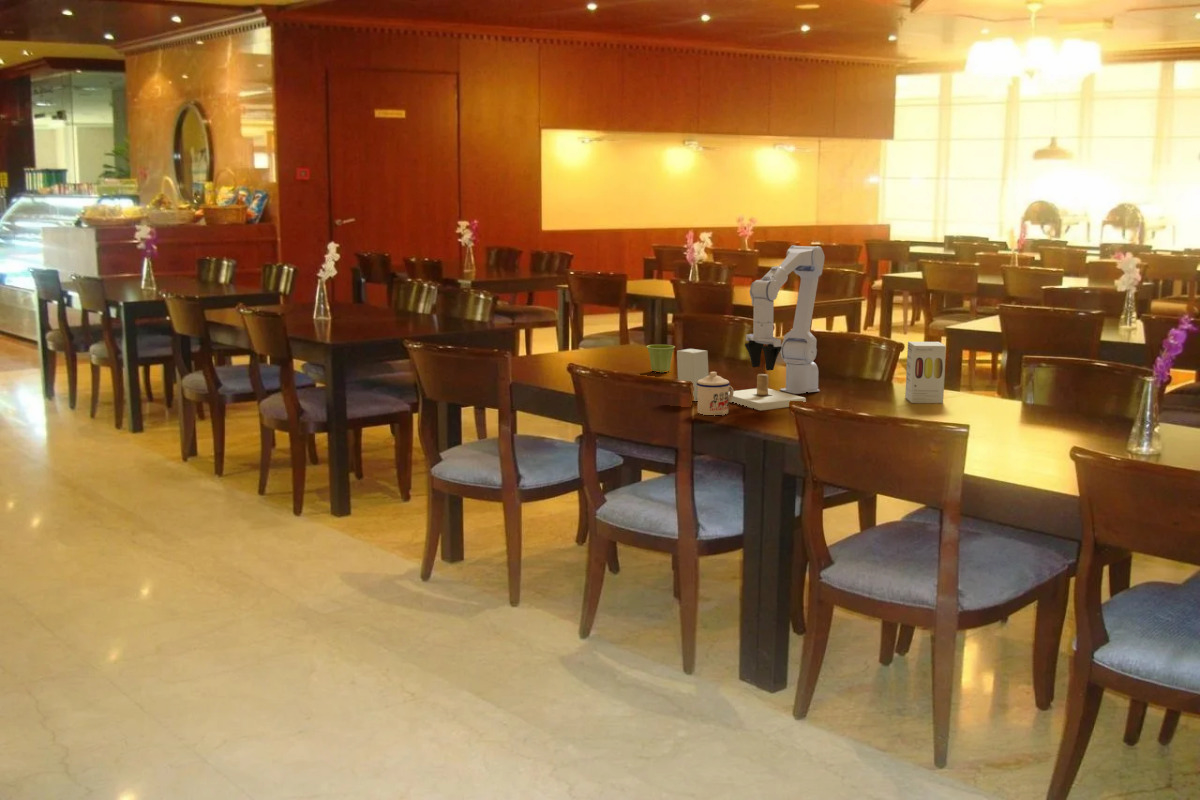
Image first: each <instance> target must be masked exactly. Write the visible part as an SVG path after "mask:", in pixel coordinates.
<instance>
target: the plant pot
mask: <svg viewBox="0 0 1200 800" xmlns="http://www.w3.org/2000/svg"><path fill="white" fill-rule="evenodd" d="M646 348H647V351H648V354H649V362H650V369H651V370H653V371H659V372H660V373H664V371H669V370H670V371H671V365H672V364H671V363H672V358H673V353H674V349H675V348H676V346H675V345H670V344H649V345H647V346H646ZM670 371H669V372H670Z"/></svg>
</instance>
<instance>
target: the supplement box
mask: <svg viewBox="0 0 1200 800" xmlns="http://www.w3.org/2000/svg"><path fill="white" fill-rule="evenodd" d="M906 352H907V357H906V375H905V393H904V394H905V396H904V397H905V398H906V400H907V401H909V403H911V404H944V396H945V395H944V393H945V378H946V376H945V375H946V359H947V357H946V355H947V346H946V344H943V343H942V342H940V341H908V342H907V351H906Z"/></svg>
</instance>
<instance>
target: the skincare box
mask: <svg viewBox="0 0 1200 800" xmlns="http://www.w3.org/2000/svg"><path fill="white" fill-rule="evenodd" d="M676 363H677V364H676V365H677V366H676V367H677V368H676V369H677V381H678V380H685V381H691V382H692V383H693V387H694V391H693V396H694V401H698V385H697V381H698V380H700V379H703V378H705V377H706V376H709V375H710V373H709V355H708V350H704V349H695V348H686V349H680V350H676Z"/></svg>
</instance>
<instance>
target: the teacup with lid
mask: <svg viewBox="0 0 1200 800" xmlns="http://www.w3.org/2000/svg"><path fill="white" fill-rule="evenodd" d="M717 373H718V372H717V371H710V372H709V376H706V377H705V378H703V379H700V380H698V381H697V385H698V402H697V414H698V413H700V414H703V415H702V416H704V415H714V416H713V417H716V416H715V415H722V416H726V415H728V414H729V403H731V402H730V401H731V399H732V397H733V394H734V391H735V390H734V388H733V387H732V386H731V385H730V381H729V380H728V379H725V378H723V377H722V376H720V375H717ZM729 392H730V394H729ZM700 414H699V415H700ZM725 414H726V415H725Z"/></svg>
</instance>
